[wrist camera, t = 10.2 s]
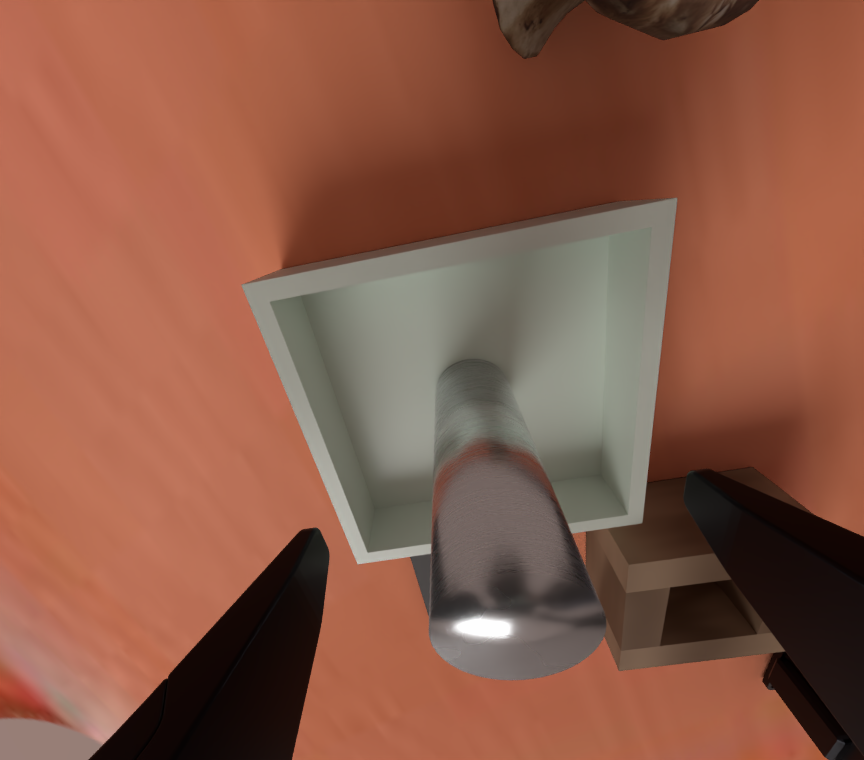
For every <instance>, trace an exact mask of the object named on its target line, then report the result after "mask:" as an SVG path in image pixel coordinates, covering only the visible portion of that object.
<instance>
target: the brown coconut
mask: <svg viewBox="0 0 864 760" xmlns="http://www.w3.org/2000/svg"><path fill="white" fill-rule="evenodd" d="M583 1H585V0H493V4H494V8H495V12H496V15H497V19H498V23H499V27H500V30H501V31H502V33H503V35H504V36H505V38H506V39H507V41H508V42H509V44H510V46H511V47H512V49H513V50H515V51H516V52H517V53H518V54H519V55H520V56H522V57H523V58H524V59H526V58H530V57H535V56H537V55H538V54H539V52H540V51H541V49H542V47H543V46H544V44H545V43H546V41H547V39H548V38H549V36H550V35H551V33H552V31H553V30H554V28H555V27H556V26H557V25H558V24H559V22H560V21H561V20H562V19H563V18H564V16H565V15H566V14H567V13H568V12H570V11H571V10H572V9H574V8H575V7H576V6H578V5H579V4H581V3H582V2H583ZM586 1H587V2H588V4H589V5H590V6H591V7H592V8H593V9H594V10H595V11H596V12H598V13H600V14H602V15H604V16H606V17H608V18H610V19H612V20H614V21H617V22H619V23H622V24H624V25H627V26H629V27H631V28H634V29H636V30H639V31H641V32H644V33H646V34H648V35H651V36H653V37H656V38H658V39H661V40H667V39H671V38H675V37H679V36H683V35H687V34H691V33H695V32H699V31H703V30H707V29H711V28H715V27H719V26H723V25H725V24H727V23H729V22H730V21H732V20H734V19H735V18H737V17H738V16H740V15H742V14H743V13H745V12H747V11H748V10H750V9H751V8H752V7H753V6H754V5H755V4H756V3H757V2H758V1H759V0H586Z"/></svg>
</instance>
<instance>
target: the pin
mask: <svg viewBox="0 0 864 760" xmlns="http://www.w3.org/2000/svg"><path fill="white" fill-rule="evenodd" d="M605 632H606V616H605V613H604V610H603V607H602V605H601V603H600V600H599V598H598V595H597V593H596V591H595V588H594V586H593V583H592V581H591V579H590V576H589V574H588V571H587V569H586V567H585V564H584V562H583V559H582V557H581V555H580V552H579V550H578V547H577V545H576V543H575V540H574V538H573V535H572V533H571V531H570V528H569V526H568V523H567V521H566V519H565V516H564V514H563V511H562V509H561V507H560V504H559V502H558V499H557V497H556V495H555V492H554V490H553V487H552V485H551V483H550V480H549V478H548V475H547V473H546V471H545V468H544V466H543V463H542V461H541V459H540V456H539V454H538V451H537V449H536V447H535V444H534V442H533V439H532V437H531V435H530V432H529V430H528V427H527V425H526V423H525V420H524V418H523V415H522V413H521V411H520V408H519V406H518V403H517V401H516V399H515V396H514V394H513V392H512V389H511V387H510V384H509V382H508V380H507V377H506V375H505V374H504V373H503V371H502V370H501V369H500V368H499V367H498V366H496V365H495V364H493V363H491V362H489V361H486V360H483V359H465V360H461V361H458V362H456V363H454V364H452V365H451V366H449V367H448V368H447V369H446V370H445V371H444V372H443V373H442V374H441V376H440V377H439V379H438V382H437V385H436V390H435V425H434V461H433V497H432V533H431V570H430V606H429V637H430V641H431V643H432V646H433V647H434V649H435V650H436V652H437V653H438V654H439V655H440V656H441V657H442V658H443V659H444V660H445V661H447V662H448V663H449V664H451V665H452V666H454V667H456V668H458V669H460V670H462V671H464V672H467V673H470V674H473V675H476V676H480V677H485V678H490V679H499V680H525V679H534V678H540V677H545V676H548V675H552V674H555V673H558V672H561V671H564V670H566V669H568V668H571V667H573V666H574V665H576V664H578V663H580V662H581V661H583V660H584V659H586V658H587V657H588V656H589V655H590V654H592V653H593V652H594V651H595V649H596V648H597V647H598V646H599V644H600V643H601V641H602V640H603V637H604V635H605Z"/></svg>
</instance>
